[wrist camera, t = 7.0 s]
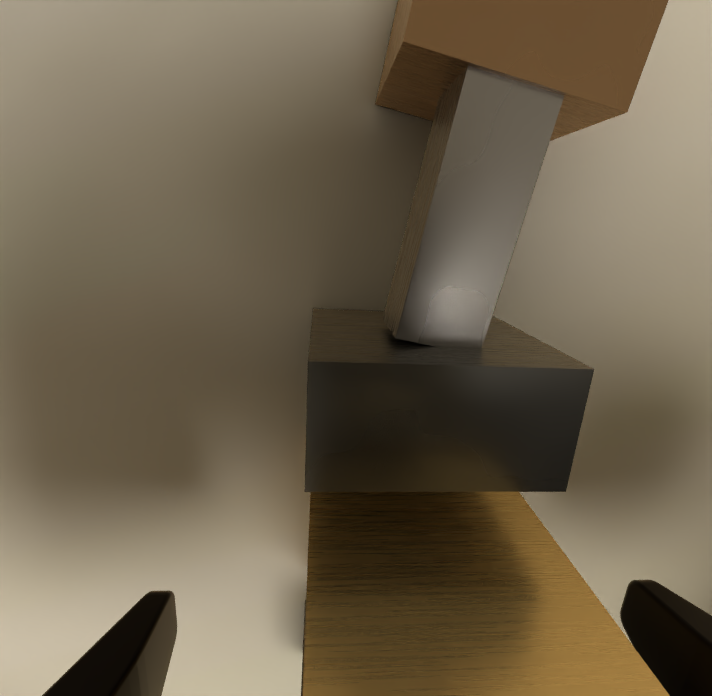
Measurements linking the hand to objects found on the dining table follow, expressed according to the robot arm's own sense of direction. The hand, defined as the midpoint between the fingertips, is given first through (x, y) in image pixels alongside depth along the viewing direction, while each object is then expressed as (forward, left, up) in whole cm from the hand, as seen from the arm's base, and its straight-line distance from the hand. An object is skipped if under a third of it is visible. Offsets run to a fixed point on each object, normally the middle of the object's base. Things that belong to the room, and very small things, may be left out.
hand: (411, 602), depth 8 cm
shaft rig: (0, 0, -3) cm, 3 cm away
